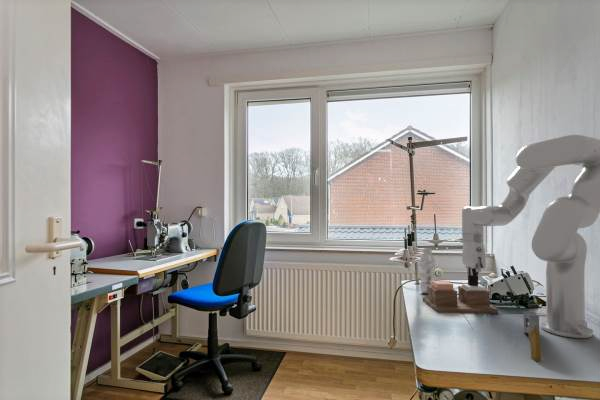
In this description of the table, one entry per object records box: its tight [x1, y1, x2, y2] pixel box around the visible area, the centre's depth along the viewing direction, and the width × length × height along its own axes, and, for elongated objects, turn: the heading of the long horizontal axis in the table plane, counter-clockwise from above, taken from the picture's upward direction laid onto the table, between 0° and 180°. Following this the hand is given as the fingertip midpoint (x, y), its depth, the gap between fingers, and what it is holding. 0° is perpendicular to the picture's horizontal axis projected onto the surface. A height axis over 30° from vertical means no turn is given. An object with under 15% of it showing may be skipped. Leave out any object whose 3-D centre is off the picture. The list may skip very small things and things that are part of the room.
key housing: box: [422, 285, 499, 314], centre depth 133 cm, size 16×22×7 cm
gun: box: [523, 310, 542, 362], centre depth 97 cm, size 3×25×15 cm, turn 149°
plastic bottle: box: [419, 247, 436, 295], centre depth 154 cm, size 6×7×20 cm
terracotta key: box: [432, 280, 454, 290], centre depth 134 cm, size 6×6×5 cm
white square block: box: [461, 283, 486, 291], centre depth 133 cm, size 6×6×5 cm
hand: (473, 285), depth 133 cm, fingers closed
